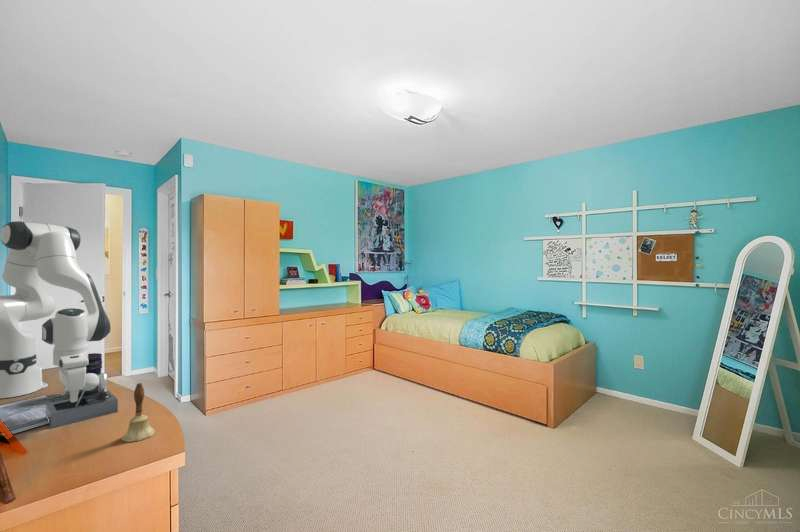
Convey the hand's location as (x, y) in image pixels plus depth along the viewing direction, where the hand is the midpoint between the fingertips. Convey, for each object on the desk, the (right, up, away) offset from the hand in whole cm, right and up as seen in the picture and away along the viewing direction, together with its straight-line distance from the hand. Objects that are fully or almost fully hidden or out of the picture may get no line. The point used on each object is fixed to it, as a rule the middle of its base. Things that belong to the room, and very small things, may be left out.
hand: (70, 397), depth 124 cm
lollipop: (0, -7, 0) cm, 7 cm away
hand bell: (+32, -7, -12) cm, 35 cm away
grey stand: (+2, -7, +2) cm, 7 cm away
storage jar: (-13, -6, +22) cm, 26 cm away
